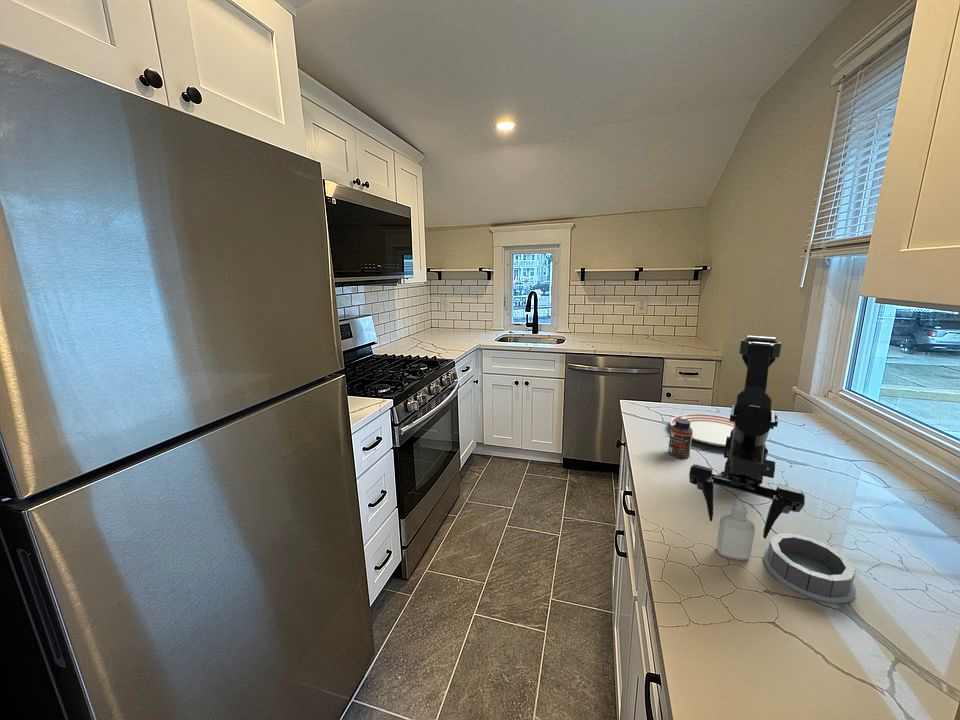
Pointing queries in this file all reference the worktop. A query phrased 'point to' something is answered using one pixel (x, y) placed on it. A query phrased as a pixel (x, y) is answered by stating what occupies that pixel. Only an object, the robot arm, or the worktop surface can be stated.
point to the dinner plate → (708, 428)
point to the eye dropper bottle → (736, 534)
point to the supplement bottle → (680, 439)
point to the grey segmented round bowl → (810, 568)
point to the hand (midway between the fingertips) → (736, 529)
